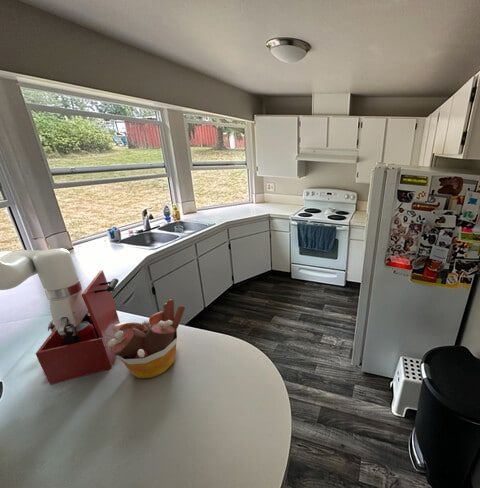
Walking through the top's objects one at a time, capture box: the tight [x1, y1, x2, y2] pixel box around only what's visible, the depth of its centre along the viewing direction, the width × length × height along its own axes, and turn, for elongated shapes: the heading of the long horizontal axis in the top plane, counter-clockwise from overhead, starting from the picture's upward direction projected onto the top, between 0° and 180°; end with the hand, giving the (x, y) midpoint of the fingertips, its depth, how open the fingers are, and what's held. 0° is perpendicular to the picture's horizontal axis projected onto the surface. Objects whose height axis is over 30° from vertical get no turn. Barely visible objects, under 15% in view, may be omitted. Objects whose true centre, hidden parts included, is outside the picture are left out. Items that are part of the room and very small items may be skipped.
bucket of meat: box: [108, 298, 186, 379], centre depth 79 cm, size 20×16×20 cm
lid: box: [82, 270, 120, 338], centre depth 81 cm, size 15×17×6 cm
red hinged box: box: [35, 310, 121, 386], centre depth 82 cm, size 15×17×12 cm
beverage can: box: [67, 321, 97, 342], centre depth 81 cm, size 7×7×12 cm
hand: (80, 335), depth 81 cm, fingers open, 9 cm apart
